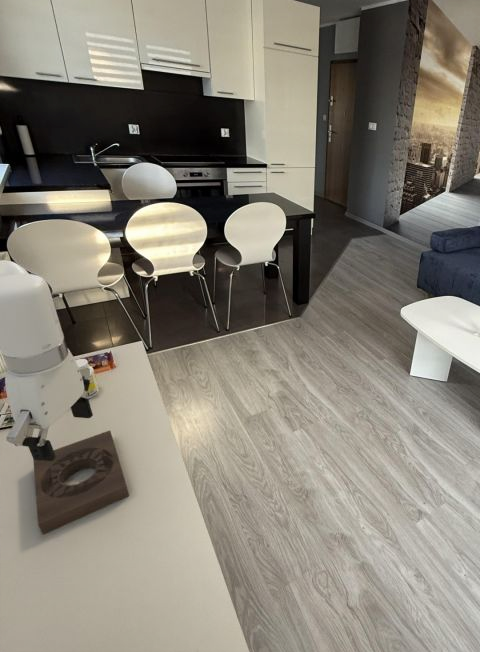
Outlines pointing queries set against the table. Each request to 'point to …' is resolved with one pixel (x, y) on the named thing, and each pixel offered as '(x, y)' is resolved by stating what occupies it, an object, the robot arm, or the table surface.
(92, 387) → the supplement bottle
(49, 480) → the socket pad
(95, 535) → the table surface
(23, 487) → the table surface
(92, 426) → the table surface
